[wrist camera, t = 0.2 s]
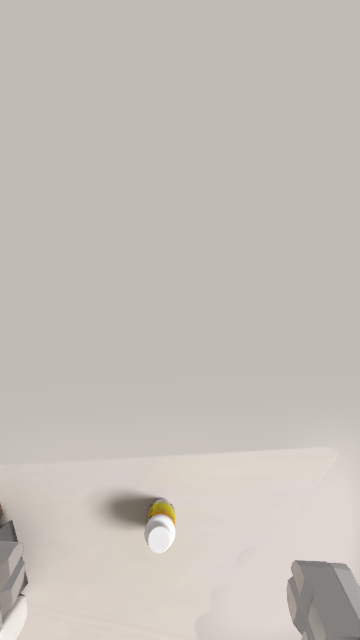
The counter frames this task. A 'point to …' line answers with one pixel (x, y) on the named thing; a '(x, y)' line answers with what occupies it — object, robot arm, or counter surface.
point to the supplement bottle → (160, 526)
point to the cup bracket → (9, 535)
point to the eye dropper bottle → (14, 619)
